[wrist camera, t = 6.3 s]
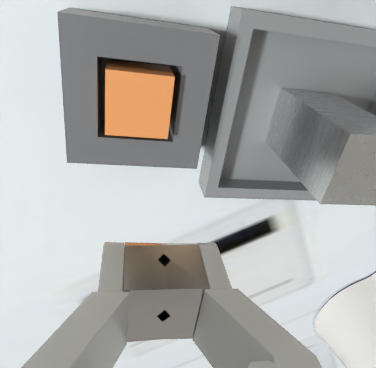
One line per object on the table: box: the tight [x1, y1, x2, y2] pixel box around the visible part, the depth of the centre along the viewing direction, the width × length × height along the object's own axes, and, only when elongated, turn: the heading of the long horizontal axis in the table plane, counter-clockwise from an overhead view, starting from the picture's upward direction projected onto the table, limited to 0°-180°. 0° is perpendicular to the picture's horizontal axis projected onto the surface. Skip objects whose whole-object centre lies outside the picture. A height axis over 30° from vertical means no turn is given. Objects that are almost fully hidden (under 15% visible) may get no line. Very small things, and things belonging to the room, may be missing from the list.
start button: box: [105, 59, 175, 139], centre depth 20 cm, size 4×4×3 cm
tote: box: [199, 7, 376, 200], centre depth 25 cm, size 14×14×2 cm
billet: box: [265, 88, 376, 205], centre depth 22 cm, size 4×5×9 cm
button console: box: [58, 8, 220, 169], centre depth 21 cm, size 9×9×4 cm
